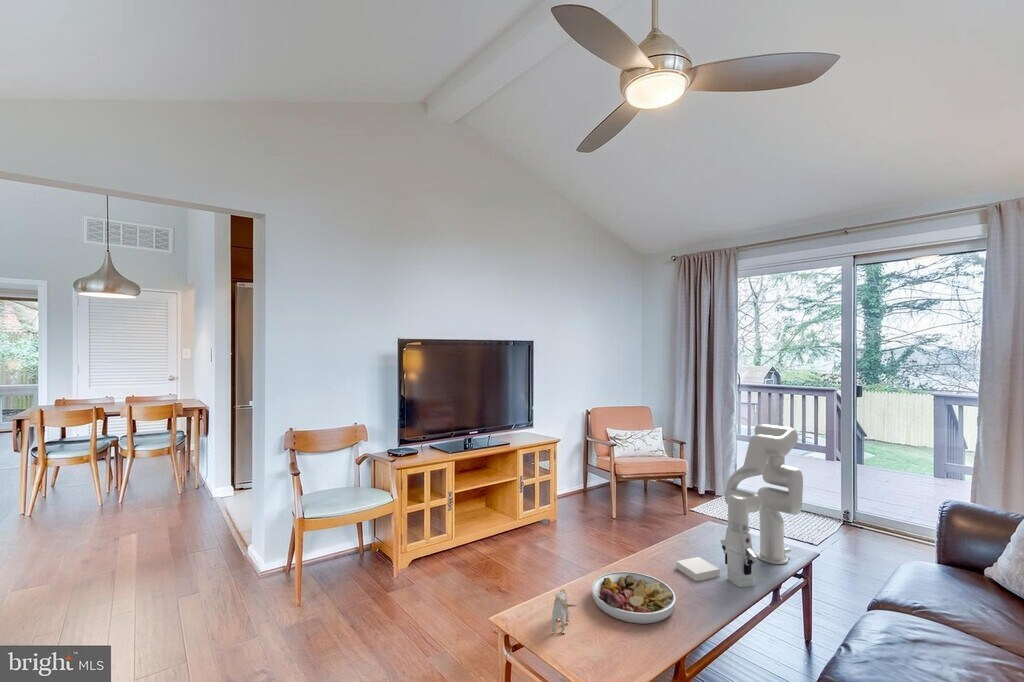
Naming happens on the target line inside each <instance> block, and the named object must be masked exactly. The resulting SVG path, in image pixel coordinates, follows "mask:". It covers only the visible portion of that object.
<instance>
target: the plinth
mask: <svg viewBox="0 0 1024 682" xmlns="http://www.w3.org/2000/svg"><path fill="white" fill-rule="evenodd" d="M675 565H676V566H675V567H676V569H677V570H679V571H680V572H682V573H683V574H685V575H686V576H688V577H689V578H691V579H692V580H694V581H695V582H700V581H704V580H709V579H714V578H718V577H720V575H721V574H720V573H721V572H720V570H721V569H720V568H719V567H717V566H715V565H713V564H712V563H710V562H708V561H707V560H705V559H703V558H701V557H700V556H696V557H692V558H687V559H681V560H677V561H676V563H675Z"/></svg>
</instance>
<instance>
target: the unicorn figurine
mask: <svg viewBox="0 0 1024 682" xmlns="http://www.w3.org/2000/svg"><path fill="white" fill-rule="evenodd" d="M553 601H554V602H553V608H552V616H551V617H552V618H551V619H552V621H551V633H552V632H555V631H556V632H557V630H556V625H555V624H556V623H555V622H556V620H557V618H561V620H560V622H561V628H562V629H561V632H562V631H565V632H566V630H565V623H566V622H569V623H570V618H569V616H570V612H569V607H577V606H578V605H577V604H570V603H569V602H568V596H567V593H566V590H565V589H564V588H563V589H560V591H559V592H558V593H556V594H555V598H554V600H553ZM564 619H565V620H564ZM556 632H555V633H556Z"/></svg>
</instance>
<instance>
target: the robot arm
mask: <svg viewBox="0 0 1024 682" xmlns="http://www.w3.org/2000/svg"><path fill="white" fill-rule="evenodd" d="M798 440H799V435H798V432H797V430H796V429H795V428H792V427H790V426H781V425H774V424H764V423H763V424H761V423H760V424H758V425H756V426H755V427H754V435H751V437H750V438H749V441H748V445H747V450H746V455H745V457H744V461H743V465H742V466H741V467H740V468H738V469H737V470H736V471H734V472H733V473H732V475H730V477H729V479H728V480H727V483H726V487H725V491H724V496H723V497H724V502H725V503H726V504H727V527H726V531H725V539H721V540H720V543H721V548H722V550H723V554H724V564H725V565H727V548H728V549H730V550H732V551H734V552H736V553H738V554H740V555H742V558H743V560H744V562H745V564H744V574H745V575H750V574H751V565H753V563H754V564H755V563H756V560H757V559H759V560H760V561H763V562H765V563H767V564H774V565H785V564H788V562H789V558H788V557H787V556H786V555H787V554H789V553H791V552H792V549H791V548H790V547H786V548H785V541H784V540H785V536H784V535H785V534H784V533H785V531H784V530H785V529H784V528H785V526H784V525H785V523H784V518H783V516H782V514H781V513H784V514H789V515H793V516H797V515H799V514H800V513H801V512H802V507H803V491H804V477H803V473H802V471H801V470H800V468H798V467H795V466H791V465H790V466H789V465H786V464H785V461H786V459H785V457H786V456H787V455H788V454H789V453H790V452H791V451H792V449H794V447H795V446H796V445H797V444H798ZM761 475H762V480H763V482H765V483H766V484H769V485H773V486H776V487H772V486H771V487H770V486H762V487H760V488H758V490H757V493H753V492H749V491H745V490H741V489H739V488H738V486H739V485H740V483H741V482H742V481H743V480H746V479H748V478H749V479H750V478H753V477H757V476H761ZM777 487H781V488H787V490H784V489H779V488H777ZM737 488H738V489H737ZM758 512H759V513H758ZM749 513H753V514H754V513H758V514H759V550H757V551H755V553H754V552H753V541H752V535H751V532H750V528H749ZM746 554H749V555H750V556H749V555H748V556H746ZM750 557H751V558H750ZM746 558H748V561H747V559H746Z"/></svg>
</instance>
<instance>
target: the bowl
mask: <svg viewBox="0 0 1024 682" xmlns="http://www.w3.org/2000/svg"><path fill="white" fill-rule="evenodd" d="M591 594H592V599H593V600H594V602H595V604H596V605H597V606H598V607H599V609H600V610H601V611H603V613H606V614H607V615H609V616H611V617H612V618H614V617H615V619H617V620H619V619H620V620H619V621H622V620H623V622H625V623H626V622H627V623H632V624H645V625H646V624H651V623H653V624H654V623H658V622H660V621H663V620H665V619H667V618H668V617H669V616H670V615H671V614H672V613H673V611H674V609H675V606H676V595H675V592H674V590H673V589H672V588H671V587H670V586H669V585H668V584H667V583H665V582H664V581H662V580H660V579H658V578H656V577H654V576H651V575H649V574H644V573H641V572H635V571H613V572H607V573H605V574H602V575H600V576H597V578H595V579H594V580H593V582H592V583H591Z"/></svg>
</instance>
